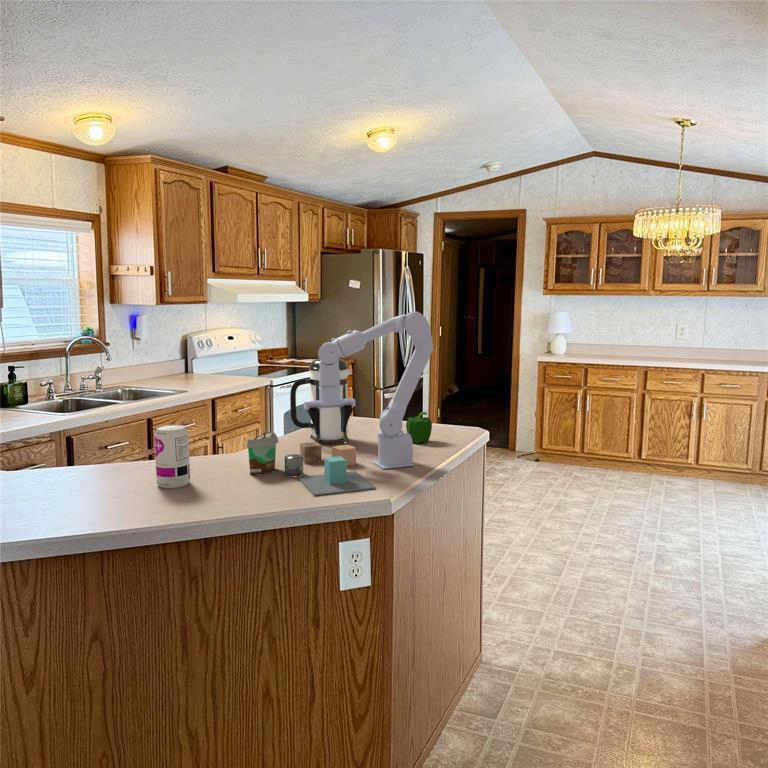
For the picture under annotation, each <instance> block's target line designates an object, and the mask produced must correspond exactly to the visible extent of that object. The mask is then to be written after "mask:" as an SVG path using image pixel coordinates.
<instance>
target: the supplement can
mask: <svg viewBox="0 0 768 768" xmlns="http://www.w3.org/2000/svg"><path fill="white" fill-rule="evenodd" d="M153 437H154V439H153V440H154V450H155V451H154V454H155V455H154V456H155V471H156V472H155V473H156V484H157V486H159V487H160V488H162V489H180V488H182V487H185V486H187V485H188V484H189V483H190V482H191V463H190V447H189V446H190V443H189V432H188V429H187V428H186V426H185V425H182V424H167V425H160V426H158V427H156V430H155V432H154V436H153Z"/></svg>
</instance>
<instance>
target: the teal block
mask: <svg viewBox="0 0 768 768" xmlns="http://www.w3.org/2000/svg"><path fill="white" fill-rule="evenodd" d="M323 459H324V460H323V461H324V463H323V464H324V474H325V481H326V482H327V483H328V484H329V485H334V484H342V483H347V472H348V468H347V467H348V466H347V460H346V459H344V458H343V457H341V456H337V457H332V456H329V457H324V458H323Z"/></svg>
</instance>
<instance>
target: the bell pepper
mask: <svg viewBox="0 0 768 768" xmlns="http://www.w3.org/2000/svg"><path fill="white" fill-rule="evenodd" d="M427 414H428V412H427V411H421V412H420V413H419V414H418V416H414V417H412V416H411V417H408V418H407V421H406V422H405V428H406V433H409V434H410V435H411V438H412V443H413V444H422V443H428V442H429V440H430V437H431V435H432V429H433V422H432V420H431V418H430V417H427ZM423 415H425V416H426V417H425V416H424V417H422V416H423Z"/></svg>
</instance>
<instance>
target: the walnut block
mask: <svg viewBox="0 0 768 768" xmlns="http://www.w3.org/2000/svg"><path fill="white" fill-rule="evenodd" d="M299 453H300V454H299V455H302V456H303V462H304V463H308V462H318V463H320V462H319V461H321V462H322V445H321V444H319V443H317V442H315V441H310V442H301V443H300V444H299ZM304 463H303V464H304ZM308 464H309V463H308Z"/></svg>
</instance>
